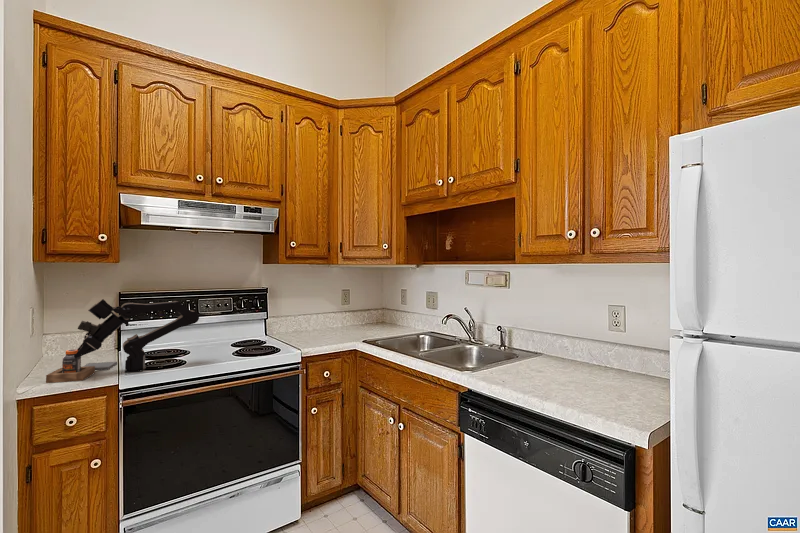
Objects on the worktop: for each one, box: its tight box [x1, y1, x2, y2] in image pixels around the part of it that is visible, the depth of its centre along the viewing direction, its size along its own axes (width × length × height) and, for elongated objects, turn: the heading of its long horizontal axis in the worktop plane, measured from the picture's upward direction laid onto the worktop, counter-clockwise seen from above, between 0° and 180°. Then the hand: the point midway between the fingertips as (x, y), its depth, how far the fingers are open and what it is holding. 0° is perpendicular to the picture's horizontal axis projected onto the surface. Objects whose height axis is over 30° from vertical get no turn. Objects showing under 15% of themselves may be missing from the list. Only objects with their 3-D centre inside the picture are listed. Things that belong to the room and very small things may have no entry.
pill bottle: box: [61, 349, 82, 373], centre depth 167 cm, size 6×6×11 cm
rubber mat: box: [82, 361, 118, 371], centre depth 184 cm, size 11×11×1 cm
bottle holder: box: [45, 366, 96, 384], centre depth 167 cm, size 12×12×3 cm
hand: (75, 355), depth 168 cm, fingers open, 9 cm apart
